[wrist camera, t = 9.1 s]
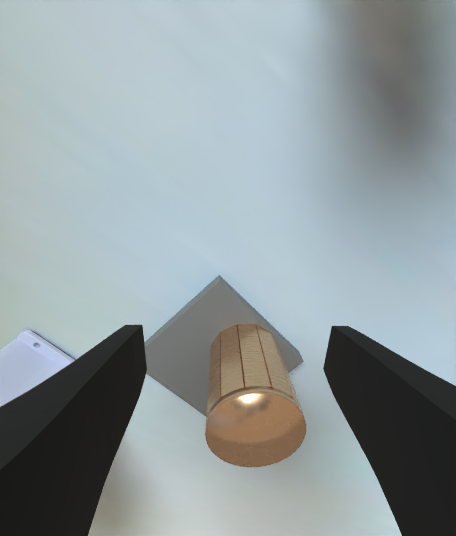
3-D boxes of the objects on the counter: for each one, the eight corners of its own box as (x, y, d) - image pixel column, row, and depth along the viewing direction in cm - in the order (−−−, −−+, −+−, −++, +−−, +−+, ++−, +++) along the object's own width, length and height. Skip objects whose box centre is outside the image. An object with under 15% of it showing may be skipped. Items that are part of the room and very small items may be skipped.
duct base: (134, 351, 20) (107, 405, 15) (219, 275, 18) (219, 309, 13) (217, 412, 23) (216, 474, 18) (299, 351, 21) (323, 403, 16)
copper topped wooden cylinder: (209, 379, 20) (205, 467, 14) (210, 322, 18) (205, 395, 12) (274, 379, 20) (298, 466, 14) (281, 323, 18) (313, 395, 12)
